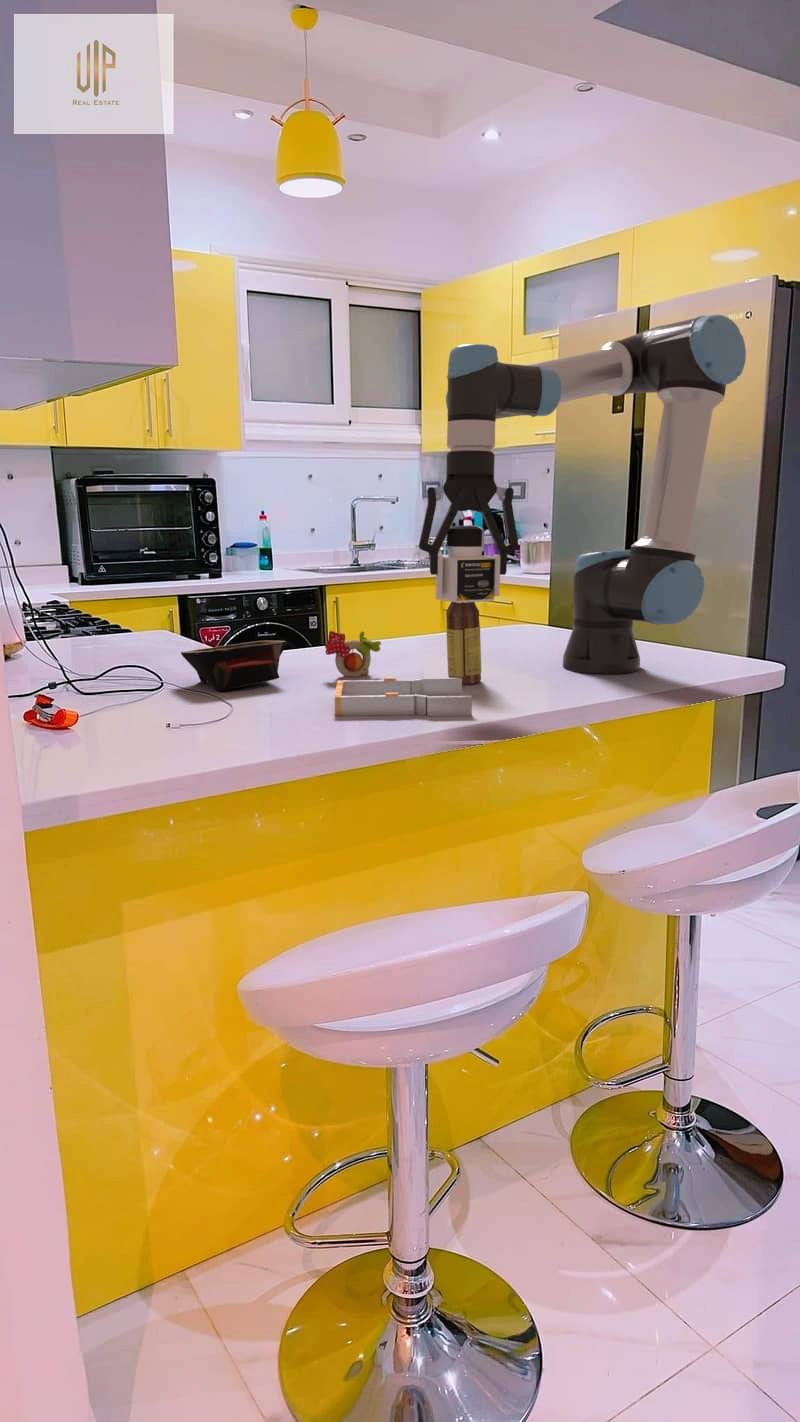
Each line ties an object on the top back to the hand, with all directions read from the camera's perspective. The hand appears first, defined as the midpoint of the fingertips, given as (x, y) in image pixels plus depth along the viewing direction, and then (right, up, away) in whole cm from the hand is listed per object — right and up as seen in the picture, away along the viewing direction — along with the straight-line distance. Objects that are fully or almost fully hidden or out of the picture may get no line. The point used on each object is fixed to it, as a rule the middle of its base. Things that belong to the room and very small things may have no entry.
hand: (467, 595), depth 149 cm
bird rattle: (-20, -13, +28) cm, 36 cm away
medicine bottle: (0, -1, +2) cm, 2 cm away
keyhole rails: (-10, -18, +3) cm, 21 cm away
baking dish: (-40, -15, +22) cm, 48 cm away
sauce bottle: (+1, -14, +22) cm, 26 cm away
